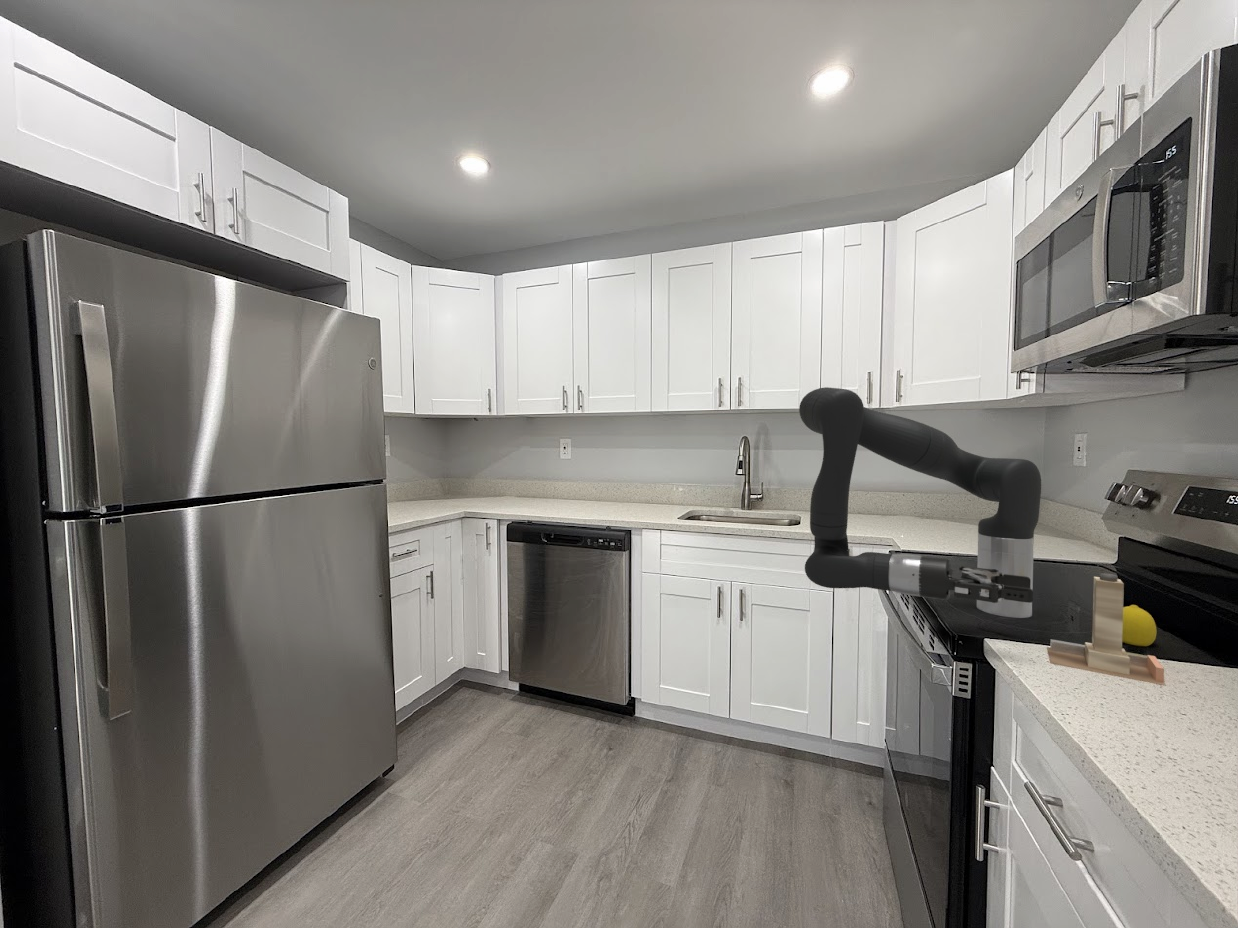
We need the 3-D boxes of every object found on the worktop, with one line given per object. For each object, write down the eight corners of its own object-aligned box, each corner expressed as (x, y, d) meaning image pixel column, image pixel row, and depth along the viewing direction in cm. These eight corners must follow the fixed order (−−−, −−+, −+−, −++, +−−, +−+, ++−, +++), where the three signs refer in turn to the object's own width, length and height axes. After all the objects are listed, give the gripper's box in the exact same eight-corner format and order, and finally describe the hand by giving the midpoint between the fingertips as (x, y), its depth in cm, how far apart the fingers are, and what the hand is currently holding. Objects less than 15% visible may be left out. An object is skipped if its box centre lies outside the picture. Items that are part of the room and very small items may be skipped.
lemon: (1140, 645, 90) (1142, 601, 90) (1164, 658, 85) (1166, 611, 85) (1103, 642, 92) (1104, 599, 92) (1124, 654, 86) (1125, 608, 86)
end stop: (1147, 667, 78) (1147, 654, 78) (1154, 669, 77) (1154, 656, 77) (1155, 680, 74) (1156, 667, 74) (1163, 682, 73) (1164, 668, 73)
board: (1046, 655, 86) (1046, 646, 86) (1151, 675, 79) (1152, 665, 79) (1050, 672, 80) (1050, 663, 80) (1165, 695, 72) (1165, 685, 72)
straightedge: (1050, 647, 86) (1050, 639, 86) (1147, 665, 79) (1148, 655, 79) (1051, 650, 85) (1051, 641, 85) (1149, 668, 78) (1150, 658, 78)
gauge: (1084, 657, 82) (1086, 569, 81) (1123, 664, 79) (1126, 574, 79) (1088, 666, 78) (1090, 575, 78) (1129, 674, 76) (1132, 580, 75)
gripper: (914, 563, 88) (1034, 576, 78) (923, 549, 99) (1029, 559, 90) (914, 605, 88) (1033, 624, 79) (923, 586, 100) (1029, 600, 90)
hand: (1031, 589), depth 84 cm, fingers open, 8 cm apart
